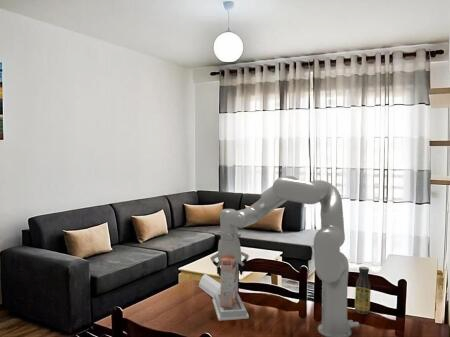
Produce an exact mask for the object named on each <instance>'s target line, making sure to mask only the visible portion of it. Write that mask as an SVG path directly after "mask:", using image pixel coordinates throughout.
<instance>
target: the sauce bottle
mask: <svg viewBox="0 0 450 337" xmlns="http://www.w3.org/2000/svg"><path fill="white" fill-rule="evenodd" d="M369 272H370V268H369V267H367V266H359V267H358V275H359V276H358V278H357V279H356V280H355V282H356V283H355V292H354V293H355V296H354V311H355V312H356V313H357V314H360V315H368V314H369V313H370V309H371V293H372V292H371V291H372V290H371V281H370V279H369Z"/></svg>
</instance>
